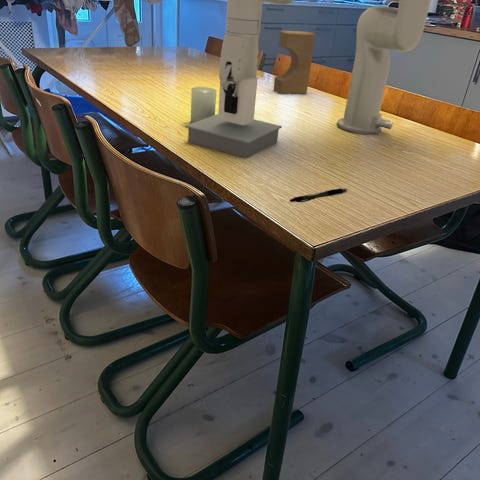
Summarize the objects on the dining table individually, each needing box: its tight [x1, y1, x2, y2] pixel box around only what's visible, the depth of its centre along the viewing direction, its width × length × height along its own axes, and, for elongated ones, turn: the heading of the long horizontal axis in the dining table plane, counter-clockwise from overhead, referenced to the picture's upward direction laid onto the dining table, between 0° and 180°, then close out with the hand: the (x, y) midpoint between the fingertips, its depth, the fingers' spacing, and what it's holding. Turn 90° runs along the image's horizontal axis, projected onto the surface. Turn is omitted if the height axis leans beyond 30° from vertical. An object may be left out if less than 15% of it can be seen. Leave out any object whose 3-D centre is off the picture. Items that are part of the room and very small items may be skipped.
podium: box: [185, 113, 283, 159], centre depth 117 cm, size 17×17×4 cm
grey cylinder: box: [189, 86, 217, 124], centre depth 127 cm, size 6×6×9 cm
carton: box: [217, 77, 259, 125], centre depth 113 cm, size 5×7×10 cm
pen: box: [289, 188, 348, 203], centre depth 93 cm, size 14×2×1 cm, turn 120°
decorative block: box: [273, 30, 316, 95], centre depth 167 cm, size 11×6×20 cm, turn 110°
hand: (236, 109), depth 114 cm, fingers closed on carton, 5 cm apart
